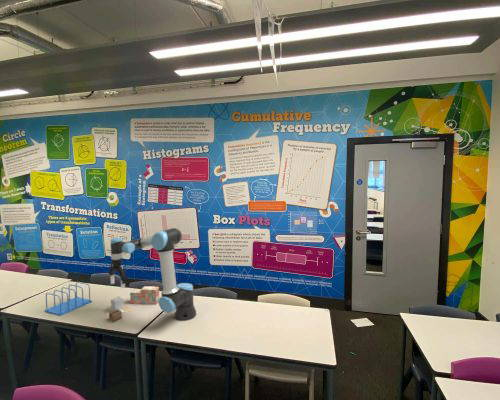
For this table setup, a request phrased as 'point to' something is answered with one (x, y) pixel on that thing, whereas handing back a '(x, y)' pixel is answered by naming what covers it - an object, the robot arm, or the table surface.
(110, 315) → the walnut cube
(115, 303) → the grey block
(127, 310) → the envelope
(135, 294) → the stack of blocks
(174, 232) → the robot arm
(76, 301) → the file sorter
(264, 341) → the table surface
